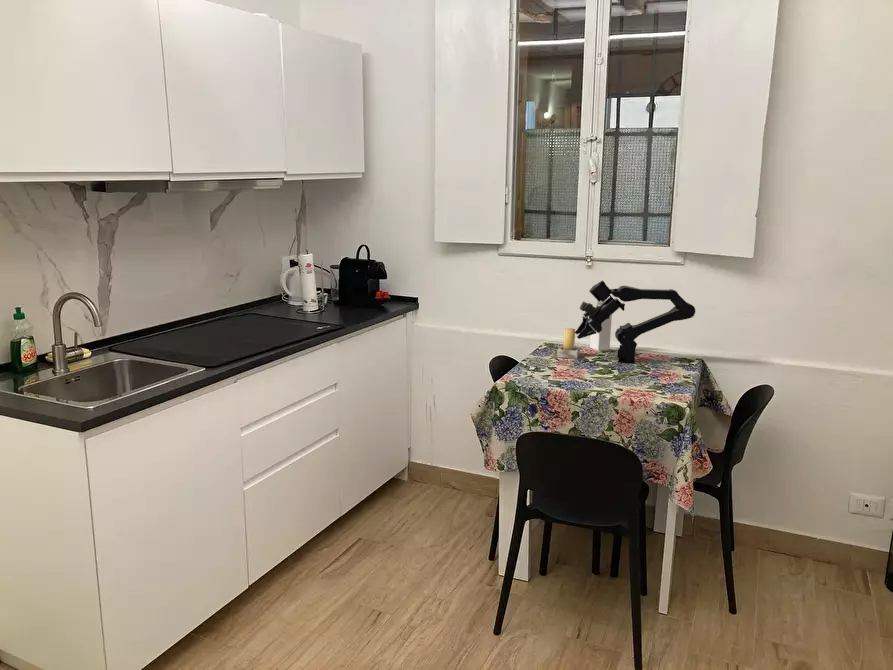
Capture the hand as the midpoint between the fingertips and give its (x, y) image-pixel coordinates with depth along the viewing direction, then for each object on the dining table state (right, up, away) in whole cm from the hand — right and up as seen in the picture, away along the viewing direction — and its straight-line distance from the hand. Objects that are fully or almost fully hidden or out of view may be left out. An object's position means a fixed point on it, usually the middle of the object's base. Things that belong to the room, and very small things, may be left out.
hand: (576, 335), depth 288 cm
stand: (-3, -10, +2) cm, 10 cm away
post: (-3, -8, +2) cm, 9 cm away
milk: (+13, -7, +17) cm, 23 cm away
